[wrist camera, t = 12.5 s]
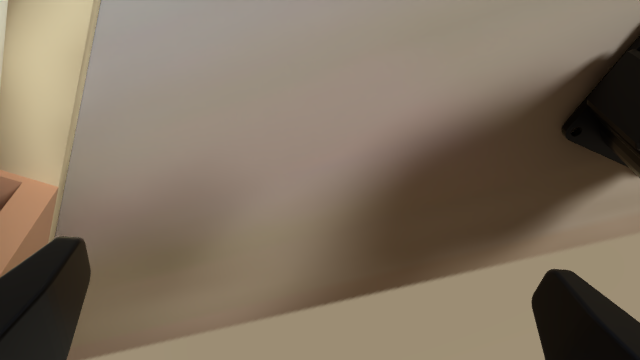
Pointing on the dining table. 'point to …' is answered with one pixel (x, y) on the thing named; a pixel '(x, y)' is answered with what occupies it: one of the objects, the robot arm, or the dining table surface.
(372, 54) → the dining table surface
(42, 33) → the base rail
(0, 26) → the beige cradle bracket
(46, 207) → the socket
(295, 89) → the dining table surface
